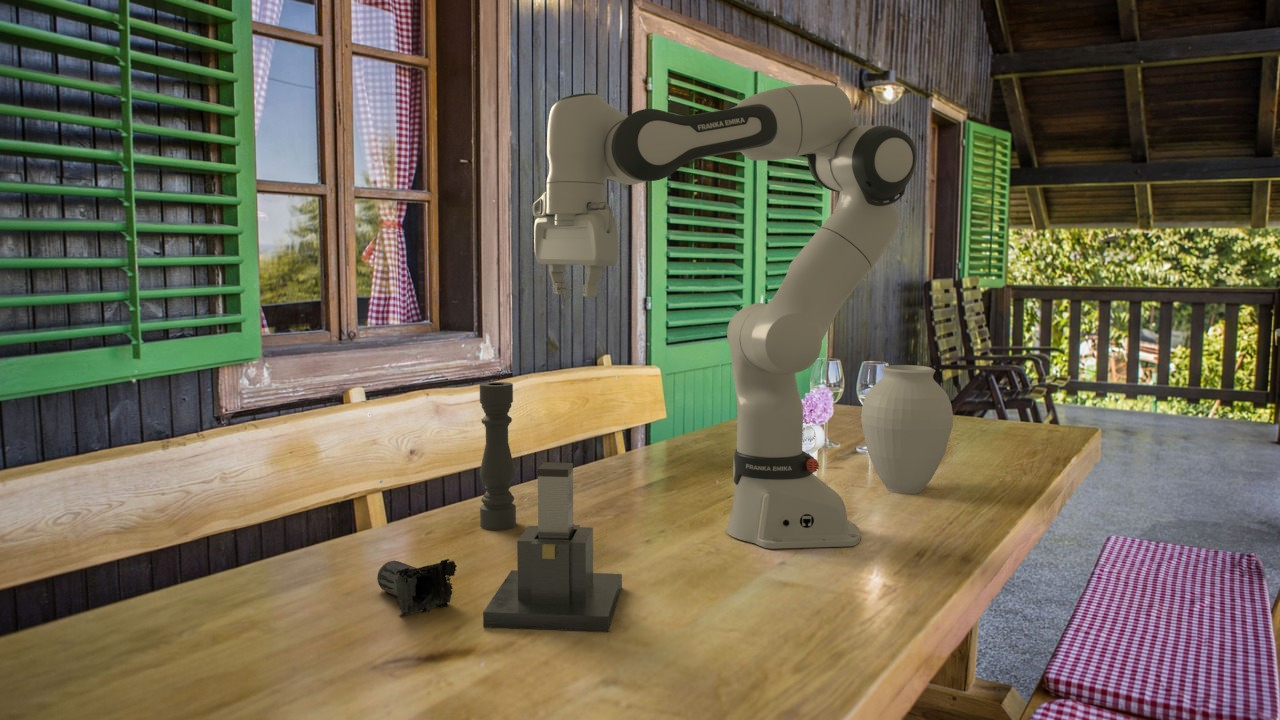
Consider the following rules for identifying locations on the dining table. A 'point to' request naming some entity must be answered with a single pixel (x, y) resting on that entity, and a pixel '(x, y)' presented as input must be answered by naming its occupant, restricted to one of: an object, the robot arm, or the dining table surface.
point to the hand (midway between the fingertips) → (574, 295)
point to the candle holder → (497, 458)
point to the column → (555, 501)
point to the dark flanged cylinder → (418, 584)
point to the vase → (906, 427)
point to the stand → (555, 587)
